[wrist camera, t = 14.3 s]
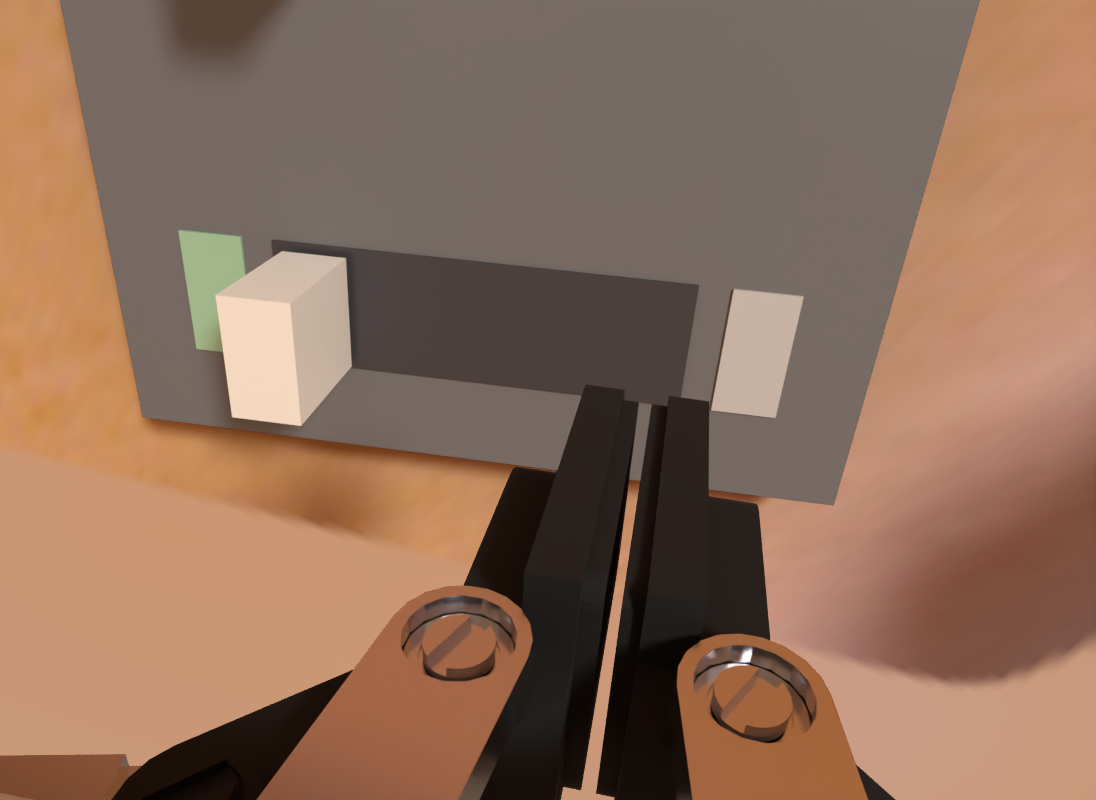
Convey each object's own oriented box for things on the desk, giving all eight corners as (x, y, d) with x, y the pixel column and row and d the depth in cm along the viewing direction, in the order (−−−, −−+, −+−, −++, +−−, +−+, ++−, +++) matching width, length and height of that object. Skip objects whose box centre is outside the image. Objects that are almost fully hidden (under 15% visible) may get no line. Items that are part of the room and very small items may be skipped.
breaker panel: (1034, -347, 18) (1100, -409, 15) (817, 458, 28) (833, 507, 26) (62, -385, 20) (-32, -446, 17) (188, 380, 30) (140, 418, 27)
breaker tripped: (345, 258, 23) (290, 303, 20) (351, 366, 25) (301, 426, 22) (281, 251, 24) (215, 295, 20) (292, 358, 25) (232, 417, 22)
